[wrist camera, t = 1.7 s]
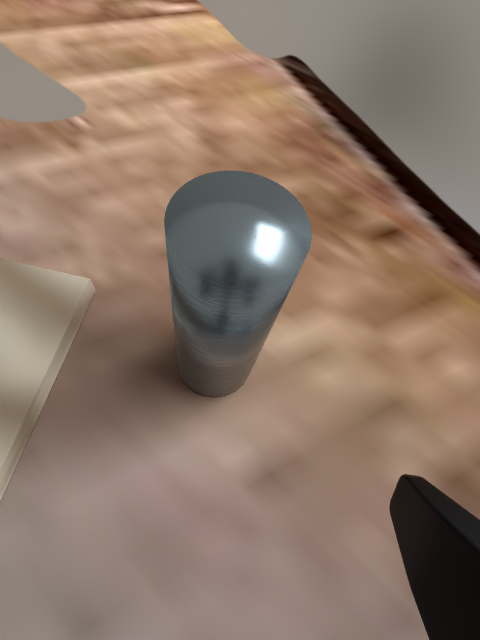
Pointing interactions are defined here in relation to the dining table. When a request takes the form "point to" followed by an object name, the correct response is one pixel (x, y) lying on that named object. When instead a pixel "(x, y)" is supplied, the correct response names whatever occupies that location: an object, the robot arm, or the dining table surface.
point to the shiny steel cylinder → (230, 272)
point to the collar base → (33, 347)
